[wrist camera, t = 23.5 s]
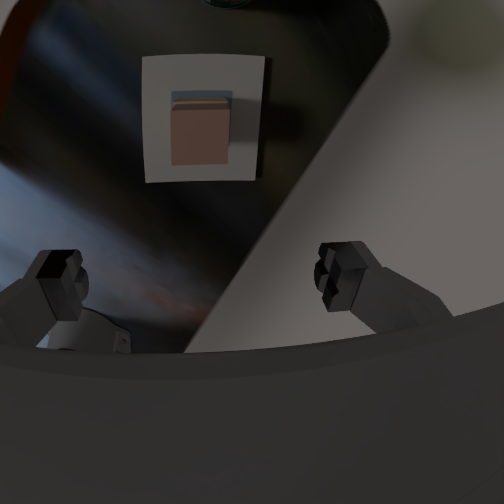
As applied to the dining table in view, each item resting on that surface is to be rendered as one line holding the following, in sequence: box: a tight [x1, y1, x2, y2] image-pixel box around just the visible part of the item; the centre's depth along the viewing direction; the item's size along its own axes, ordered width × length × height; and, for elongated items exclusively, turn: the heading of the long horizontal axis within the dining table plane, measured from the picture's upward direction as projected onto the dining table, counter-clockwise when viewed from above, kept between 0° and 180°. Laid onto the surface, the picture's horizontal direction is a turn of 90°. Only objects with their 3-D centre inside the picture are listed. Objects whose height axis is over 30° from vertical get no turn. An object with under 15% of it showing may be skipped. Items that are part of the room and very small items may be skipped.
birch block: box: [173, 97, 228, 107], centre depth 30 cm, size 6×6×5 cm
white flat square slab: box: [142, 54, 265, 183], centre depth 33 cm, size 16×14×1 cm
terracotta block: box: [170, 103, 230, 166], centre depth 26 cm, size 5×5×5 cm
